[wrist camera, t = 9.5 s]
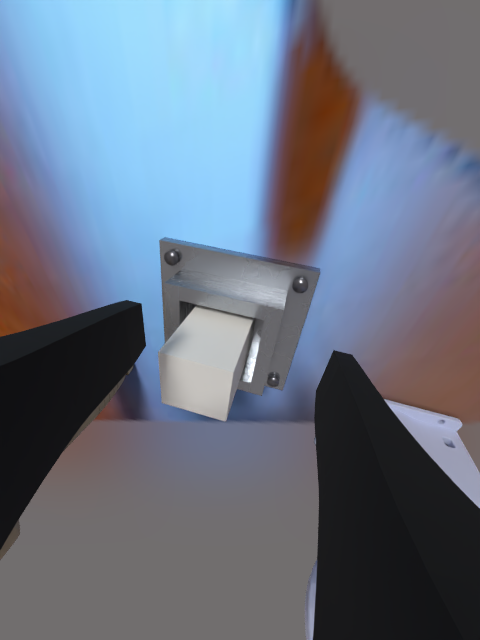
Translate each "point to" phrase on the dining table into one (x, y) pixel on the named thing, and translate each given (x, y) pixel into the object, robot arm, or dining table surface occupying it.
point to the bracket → (241, 301)
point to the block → (205, 361)
